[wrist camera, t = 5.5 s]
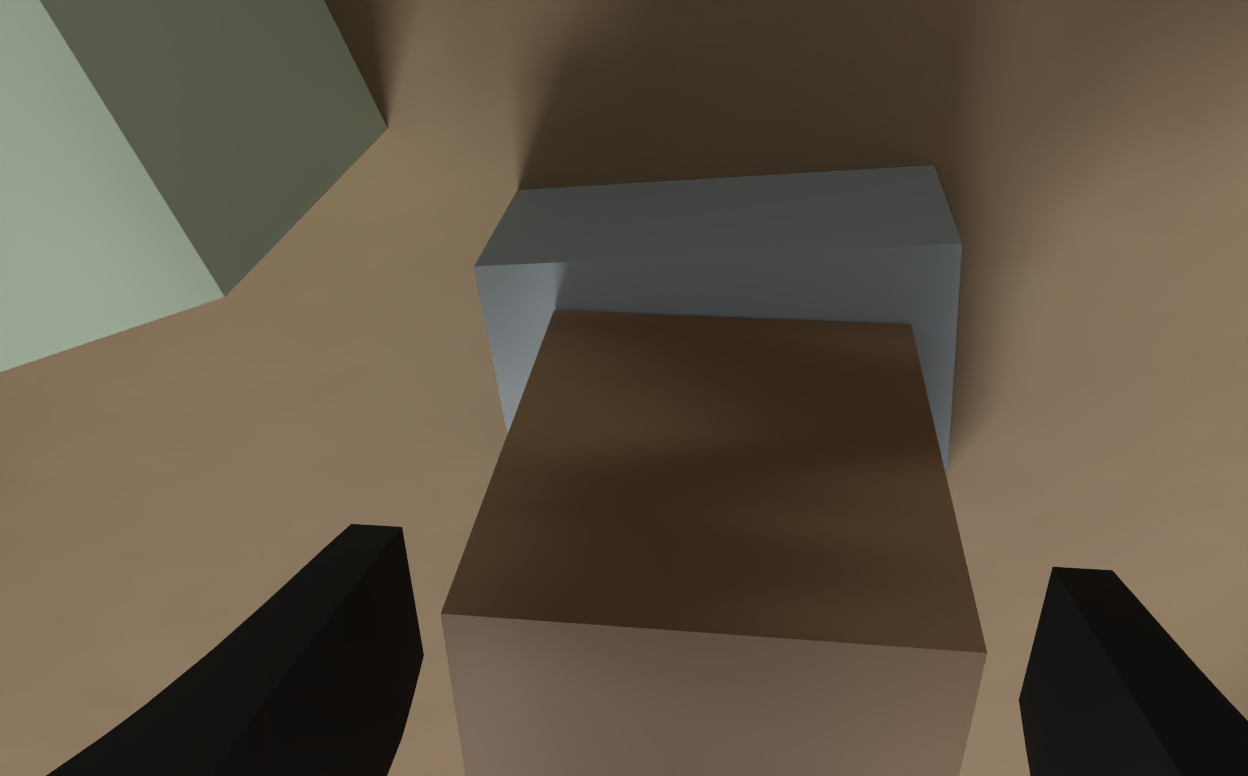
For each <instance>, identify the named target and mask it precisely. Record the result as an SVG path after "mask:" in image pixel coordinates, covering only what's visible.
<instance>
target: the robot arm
mask: <svg viewBox="0 0 1248 776" xmlns="http://www.w3.org/2000/svg"><path fill="white" fill-rule="evenodd" d="M423 656H424V654H423V648H422V642H421V636H420V630H419V624H418V618H417V612H416V607H415V601H414V595H413V589H412V583H411V577H410V571H409V565H408V560H407V554H406V548H405V542H404V536H403V530H402V527H392V526H376V525H359V524H351V525H350V526H348V527H347V528H346V529H345V530H344V531H343V532H342V533H341V534H340V535H338V536H337V537H336V538H335V539H334V540H333V541H332V542H331V543H329V544H328V545H327V546H326V547H325V548H324V549H323V550H322V551H321V552H320V553H318V554H317V555H316V556H315V557H314V558H313V559H312V560H311V561H310V562H309V563H308V564H307V565H305V566H304V567H303V568H302V569H301V570H300V571H299V572H298V573H297V574H296V575H295V576H294V577H293V578H292V579H290V580H289V581H288V582H287V583H286V584H285V585H284V586H283V587H282V588H281V589H280V590H279V591H277V592H276V593H275V594H274V595H273V596H272V597H271V598H270V599H269V600H268V601H267V602H265V603H264V604H263V605H262V606H261V607H260V608H259V609H258V610H257V611H255V612H254V613H253V614H252V615H251V616H250V617H249V618H248V619H246V620H245V621H244V622H243V623H242V624H241V625H240V626H239V627H237V628H236V629H235V630H234V631H233V632H232V633H231V634H230V635H228V636H227V637H226V638H225V639H224V640H223V641H222V642H221V643H219V644H218V645H217V646H216V647H215V648H214V649H213V650H211V651H210V652H209V653H208V654H207V655H206V656H204V657H203V658H202V659H201V660H199V661H198V662H197V663H196V664H195V665H193V666H192V667H191V668H190V669H188V670H187V671H186V672H185V673H184V674H182V675H181V676H180V677H179V678H177V679H176V680H175V681H174V682H173V683H171V684H170V685H169V686H168V687H166V688H165V689H164V690H163V691H162V692H160V693H159V694H158V695H157V696H155V697H154V698H153V699H152V700H150V701H149V702H148V703H147V704H146V705H144V706H143V707H142V708H140V709H139V710H138V711H136V712H135V713H134V714H132V715H131V716H130V717H129V718H127V719H126V720H125V721H123V722H122V723H120V724H119V725H118V726H116V727H115V728H114V729H112V730H111V731H110V732H108V733H107V734H105V735H104V736H103V737H101V738H100V739H99V740H97V741H96V742H94V743H93V744H91V745H90V746H88V747H87V748H86V749H84V750H83V751H81V752H80V753H78V754H77V755H75V756H74V757H73V758H71V759H70V760H68V761H67V762H65V763H64V764H63V765H61V766H60V767H58V768H57V769H55V770H54V771H52V772H51V773H49V774H48V775H46V776H387V775H388V772H389V769H390V767H391V764H392V762H393V759H394V757H395V754H396V752H397V749H398V747H399V744H400V741H401V739H402V736H403V732H404V729H405V725H406V722H407V718H408V714H409V711H410V707H411V704H412V700H413V696H414V692H415V688H416V684H417V680H418V676H419V672H420V668H421V664H422V660H423ZM1019 704H1020V711H1021V718H1022V724H1023V731H1024V738H1025V745H1026V751H1027V757H1028V763H1029V769H1030V775H1031V776H1248V721H1247V720H1246V719H1245V718H1244V716H1243V715H1242V714H1241V713H1240V712H1239V711H1238V710H1237V709H1236V708H1235V707H1234V706H1233V705H1232V704H1231V703H1230V702H1229V701H1228V700H1227V698H1226V697H1225V696H1224V695H1223V694H1222V693H1221V692H1220V691H1219V690H1218V689H1217V688H1216V687H1215V686H1214V684H1213V683H1212V682H1211V681H1210V680H1209V679H1208V678H1207V677H1206V676H1205V675H1204V673H1203V672H1202V671H1201V670H1200V669H1199V668H1198V667H1197V666H1196V665H1195V663H1194V662H1193V661H1192V660H1191V659H1190V658H1189V657H1188V656H1187V654H1186V653H1185V652H1184V651H1183V650H1182V649H1181V648H1180V647H1179V645H1178V644H1177V643H1176V642H1175V641H1174V640H1173V639H1172V637H1171V636H1170V635H1169V634H1168V633H1167V632H1166V631H1165V630H1164V628H1163V627H1162V626H1161V625H1160V624H1159V623H1158V622H1157V620H1156V619H1155V618H1154V617H1153V616H1152V615H1151V614H1150V612H1149V611H1148V610H1147V609H1146V608H1145V607H1144V606H1143V604H1142V603H1141V602H1140V601H1139V600H1138V599H1137V598H1136V597H1135V595H1134V594H1133V593H1132V592H1131V591H1130V590H1129V589H1128V588H1127V586H1126V585H1125V584H1124V583H1123V582H1122V581H1121V580H1120V579H1119V577H1118V576H1117V575H1116V574H1115V573H1114V572H1113V571H1112V570H1097V569H1080V568H1064V567H1053V568H1052V572H1051V576H1050V580H1049V584H1048V587H1047V591H1046V595H1045V599H1044V603H1043V607H1042V611H1041V615H1040V619H1039V623H1038V627H1037V631H1036V635H1035V639H1034V643H1033V647H1032V650H1031V654H1030V658H1029V662H1028V666H1027V670H1026V674H1025V678H1024V682H1023V686H1022V690H1021V694H1020V698H1019Z"/></svg>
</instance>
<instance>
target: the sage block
mask: <svg viewBox="0 0 1248 776" xmlns="http://www.w3.org/2000/svg"><path fill="white" fill-rule="evenodd" d="M387 129H388V128H387V126H386V124H385V122H384V120H383V118H382V116H381V114H380V112H379V110H378V108H377V106H376V104H375V102H374V100H373V98H372V96H371V94H370V92H369V90H368V88H367V86H366V84H365V82H364V80H363V77H362V75H361V73H360V71H359V69H358V67H357V65H356V63H355V61H354V59H353V57H352V55H351V53H350V51H349V49H348V47H347V45H346V43H345V41H344V39H343V37H342V35H341V33H340V31H339V29H338V27H337V25H336V23H335V21H334V19H333V17H332V15H331V13H330V11H329V9H328V7H327V5H326V3H325V1H324V0H0V372H2V371H5V370H8V369H11V368H14V367H16V366H19V365H22V364H25V363H28V362H31V361H34V360H37V359H40V358H43V357H46V356H49V355H52V354H55V353H58V352H61V351H64V350H67V349H70V348H73V347H76V346H79V345H82V344H85V343H88V342H91V341H94V340H97V339H100V338H103V337H106V336H109V335H112V334H115V333H118V332H121V331H124V330H127V329H130V328H133V327H136V326H139V325H142V324H145V323H148V322H151V321H154V320H157V319H160V318H163V317H166V316H169V315H172V314H175V313H178V312H181V311H184V310H187V309H190V308H193V307H196V306H199V305H202V304H205V303H208V302H211V301H214V300H217V299H220V298H223V297H225V296H226V295H227V294H228V293H229V292H230V291H231V290H232V289H233V288H234V287H235V286H236V285H237V284H238V283H239V282H240V281H241V280H242V279H243V278H244V277H245V276H246V274H247V273H248V272H249V271H250V270H251V269H252V268H253V267H254V266H255V265H256V264H257V263H258V262H259V261H260V260H261V259H262V258H263V257H264V256H265V255H266V254H267V253H268V252H269V251H270V250H271V249H272V248H273V247H274V246H275V244H276V243H277V242H278V241H279V240H280V239H281V238H282V237H283V236H284V235H285V234H286V233H287V232H288V231H289V230H290V229H291V228H292V227H293V226H294V225H295V224H296V223H297V222H298V221H299V220H300V219H301V218H302V217H303V216H304V214H305V213H306V212H307V211H308V210H309V209H310V208H311V207H312V206H313V205H314V204H315V203H316V202H317V201H318V200H319V199H320V198H321V197H322V196H323V195H324V194H325V193H326V192H327V191H328V190H329V189H330V188H331V187H332V186H333V184H334V183H335V182H336V181H337V180H338V179H339V178H340V177H341V176H342V175H343V174H344V173H345V172H346V171H347V170H348V169H349V168H350V167H351V166H352V165H353V164H354V163H355V162H356V161H357V160H358V159H359V158H360V157H361V156H362V154H363V153H364V152H365V151H366V150H367V149H368V148H369V147H370V146H371V145H372V144H373V143H374V142H375V141H376V140H377V139H378V138H379V137H380V136H381V135H382V134H383V133H384V132H385V131H386V130H387Z"/></svg>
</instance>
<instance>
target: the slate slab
mask: <svg viewBox="0 0 1248 776" xmlns="http://www.w3.org/2000/svg"><path fill="white" fill-rule="evenodd" d="M961 257H962V241H961V238H960V236H959V233H958V230H957V227H956V225H955V222H954V219H953V216H952V214H951V211H950V208H949V205H948V203H947V200H946V197H945V194H944V192H943V189H942V186H941V183H940V181H939V178H938V175H937V172H936V170H935V167H934V165H925V166H909V167H892V168H875V169H858V170H842V171H825V172H808V173H792V174H775V175H758V176H742V177H725V178H708V179H692V180H675V181H658V182H642V183H625V184H608V185H592V186H575V187H558V188H542V189H525V190H517V192H516V193H515V195H514V197H513V199H512V201H511V202H510V204H509V206H508V208H507V209H506V211H505V213H504V215H503V216H502V218H501V220H500V222H499V223H498V225H497V227H496V229H495V231H494V232H493V234H492V236H491V238H490V239H489V241H488V243H487V245H486V246H485V248H484V250H483V252H482V253H481V255H480V257H479V259H478V261H477V262H476V264H475V266H474V268H475V273H476V278H477V283H478V288H479V294H480V299H481V304H482V309H483V314H484V319H485V324H486V329H487V334H488V339H489V344H490V349H491V354H492V359H493V364H494V369H495V374H496V380H497V385H498V390H499V395H500V400H501V405H502V410H503V415H504V420H505V425H506V430H507V435H508V432H509V429H510V427H511V424H512V421H513V419H514V416H515V413H516V410H517V408H518V405H519V402H520V400H521V397H522V394H523V392H524V389H525V386H526V384H527V381H528V378H529V376H530V373H531V370H532V367H533V365H534V362H535V359H536V357H537V354H538V351H539V349H540V346H541V343H542V341H543V338H544V335H545V333H546V330H547V327H548V324H549V322H550V319H551V316H552V314H553V311H554V310H557V311H582V312H608V313H634V314H659V315H685V316H711V317H736V318H762V319H788V320H813V321H839V322H865V323H890V324H911V326H912V331H913V335H914V339H915V344H916V348H917V352H918V357H919V361H920V365H921V370H922V374H923V378H924V383H925V387H926V391H927V396H928V400H929V404H930V409H931V413H932V417H933V422H934V426H935V430H936V434H937V439H938V443H939V447H940V452H941V456H942V460H943V465H944V469H945V473H946V478H947V475H948V459H949V444H950V428H951V412H952V397H953V381H954V366H955V350H956V335H957V319H958V303H959V288H960V272H961Z"/></svg>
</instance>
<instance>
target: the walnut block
mask: <svg viewBox="0 0 1248 776" xmlns="http://www.w3.org/2000/svg"><path fill="white" fill-rule="evenodd" d="M441 618H442V624H443V631H444V638H445V644H446V651H447V657H448V664H449V670H450V677H451V683H452V690H453V696H454V703H455V709H456V716H457V722H458V729H459V735H460V742H461V749H462V755H463V762H464V768H465V775H466V776H959V773H960V768H961V764H962V760H963V755H964V751H965V747H966V742H967V738H968V734H969V729H970V725H971V721H972V716H973V712H974V708H975V703H976V699H977V695H978V690H979V686H980V682H981V677H982V673H983V669H984V664H985V660H986V656H987V651H986V646H985V642H984V638H983V633H982V629H981V625H980V620H979V616H978V612H977V607H976V603H975V599H974V595H973V590H972V586H971V582H970V577H969V573H968V569H967V564H966V560H965V556H964V551H963V547H962V543H961V538H960V534H959V530H958V525H957V521H956V517H955V512H954V508H953V504H952V499H951V495H950V491H949V486H948V482H947V478H946V473H945V469H944V465H943V460H942V456H941V452H940V447H939V443H938V439H937V434H936V430H935V426H934V422H933V417H932V413H931V409H930V404H929V400H928V396H927V391H926V387H925V383H924V378H923V374H922V370H921V365H920V361H919V357H918V352H917V348H916V344H915V339H914V335H913V331H912V326H911V324H890V323H865V322H839V321H813V320H788V319H762V318H736V317H711V316H685V315H659V314H634V313H608V312H582V311H557V310H554V311H553V314H552V316H551V319H550V322H549V324H548V327H547V330H546V333H545V335H544V338H543V341H542V343H541V346H540V349H539V351H538V354H537V357H536V359H535V362H534V365H533V367H532V370H531V373H530V376H529V378H528V381H527V384H526V386H525V389H524V392H523V394H522V397H521V400H520V402H519V405H518V408H517V410H516V413H515V416H514V419H513V421H512V424H511V427H510V429H509V432H508V435H507V437H506V440H505V443H504V445H503V448H502V451H501V453H500V456H499V459H498V462H497V464H496V467H495V470H494V472H493V475H492V478H491V480H490V483H489V486H488V488H487V491H486V494H485V496H484V499H483V502H482V504H481V507H480V510H479V513H478V515H477V518H476V521H475V523H474V526H473V529H472V531H471V534H470V537H469V539H468V542H467V545H466V547H465V550H464V553H463V556H462V558H461V561H460V564H459V566H458V569H457V572H456V574H455V577H454V580H453V582H452V585H451V588H450V590H449V593H448V596H447V599H446V601H445V604H444V607H443V609H442V612H441Z"/></svg>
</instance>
